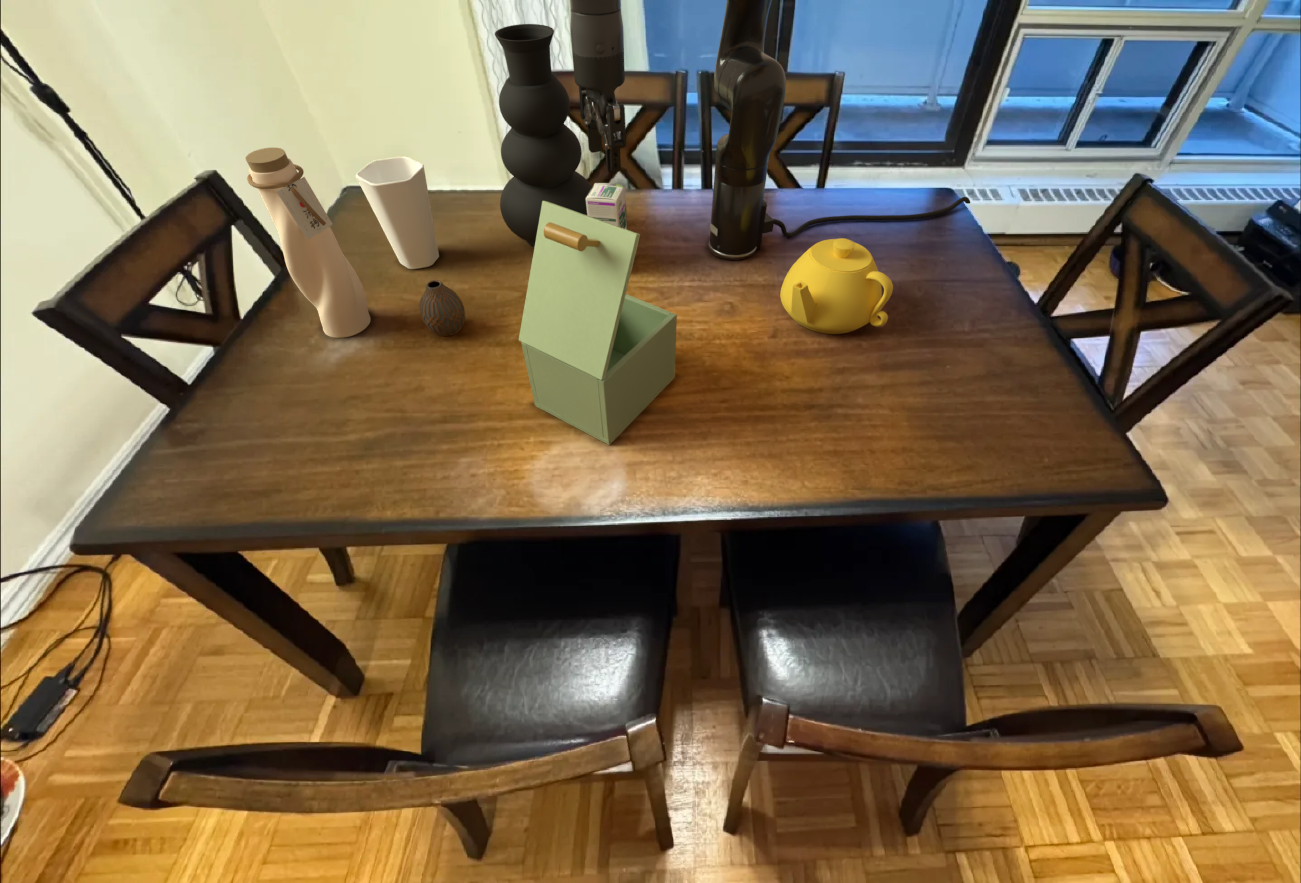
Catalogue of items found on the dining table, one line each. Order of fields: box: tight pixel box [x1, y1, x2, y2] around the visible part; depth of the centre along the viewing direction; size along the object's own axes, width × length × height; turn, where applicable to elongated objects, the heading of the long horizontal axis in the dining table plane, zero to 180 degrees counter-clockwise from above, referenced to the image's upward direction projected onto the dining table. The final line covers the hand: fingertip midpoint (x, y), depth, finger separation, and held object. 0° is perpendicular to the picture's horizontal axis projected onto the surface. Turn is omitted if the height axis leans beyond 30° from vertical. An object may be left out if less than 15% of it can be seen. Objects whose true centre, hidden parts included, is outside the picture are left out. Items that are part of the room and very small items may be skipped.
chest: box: [521, 293, 678, 446], centre depth 84 cm, size 17×14×12 cm
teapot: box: [779, 237, 894, 335], centre depth 96 cm, size 20×19×13 cm
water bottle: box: [245, 147, 371, 339], centre depth 89 cm, size 10×9×28 cm
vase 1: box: [419, 279, 466, 337], centre depth 95 cm, size 7×7×9 cm
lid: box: [518, 201, 641, 380], centre depth 69 cm, size 18×14×5 cm
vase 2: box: [494, 23, 593, 248], centre depth 105 cm, size 18×18×35 cm
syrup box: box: [586, 182, 629, 230], centre depth 106 cm, size 6×6×14 cm
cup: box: [355, 155, 440, 270], centre depth 107 cm, size 11×10×17 cm
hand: (604, 161), depth 97 cm, fingers open, 8 cm apart
